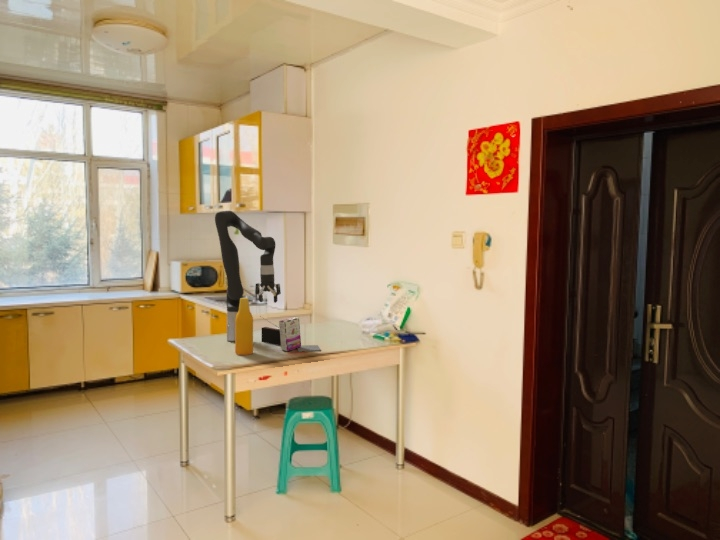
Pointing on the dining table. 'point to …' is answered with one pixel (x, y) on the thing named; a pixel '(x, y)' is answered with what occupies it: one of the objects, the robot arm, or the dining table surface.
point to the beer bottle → (244, 329)
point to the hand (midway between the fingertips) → (268, 302)
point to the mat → (309, 348)
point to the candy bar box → (290, 334)
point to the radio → (271, 335)
